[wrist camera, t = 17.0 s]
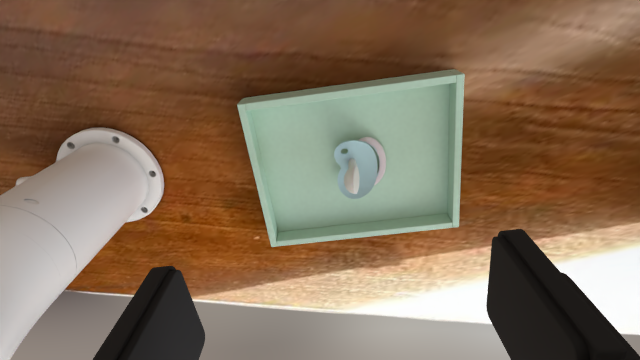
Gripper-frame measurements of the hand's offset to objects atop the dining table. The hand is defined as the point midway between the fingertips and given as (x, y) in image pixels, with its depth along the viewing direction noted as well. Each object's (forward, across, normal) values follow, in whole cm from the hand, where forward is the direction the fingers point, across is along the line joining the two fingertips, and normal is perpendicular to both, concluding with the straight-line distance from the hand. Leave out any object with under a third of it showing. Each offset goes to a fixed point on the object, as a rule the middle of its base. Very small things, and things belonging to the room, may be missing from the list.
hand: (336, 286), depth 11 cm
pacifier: (+32, -3, +10) cm, 33 cm away
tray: (+32, -2, +10) cm, 34 cm away
